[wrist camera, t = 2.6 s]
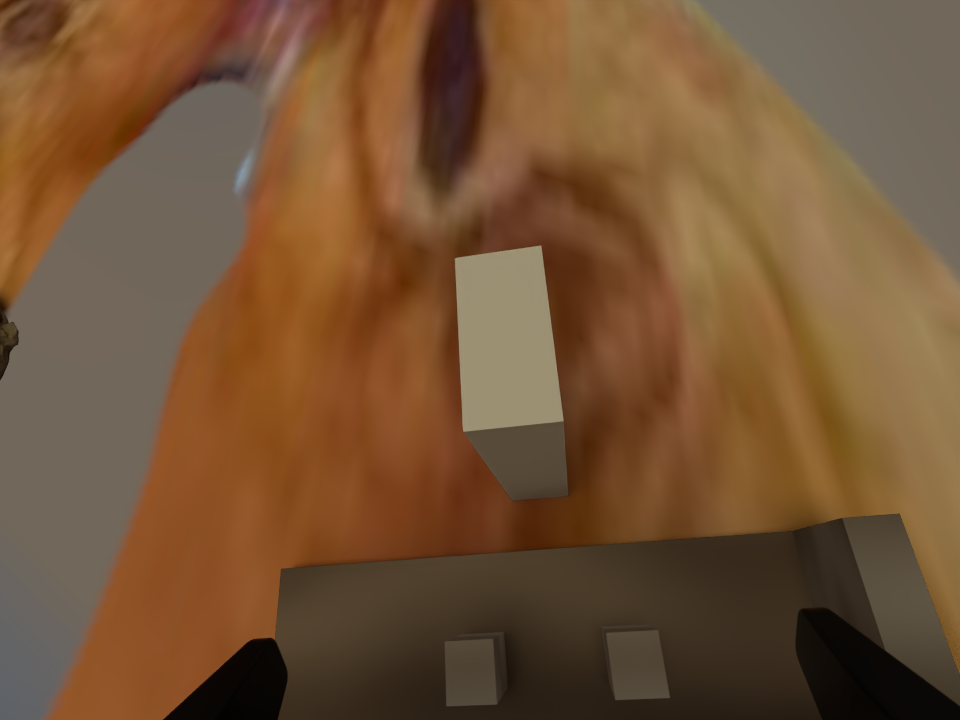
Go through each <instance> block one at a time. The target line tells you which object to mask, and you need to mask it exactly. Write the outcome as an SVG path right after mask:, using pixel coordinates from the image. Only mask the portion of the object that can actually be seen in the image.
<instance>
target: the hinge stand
mask: <svg viewBox="0 0 960 720" xmlns="http://www.w3.org/2000/svg"><path fill="white" fill-rule="evenodd" d="M814 607H825V608H828V609H830V610H832V611H833V612H835V613H836V614H837V615H839V616H840V617H841V618H843V619H844V620H845V621H847V622H848V623H849V624H851V625H852V626H853V627H855V628H856V629H858V630H859V631H860V632H862V633H863V634H864V635H866V636H867V637H868V638H870V639H871V640H872V641H874V642H875V643H876V644H878V645H879V646H880V647H882V648H883V649H884V650H886V651H887V652H888V653H890V654H891V655H892V656H894V657H895V658H896V659H898V660H899V661H901V662H902V663H903V664H905V665H906V666H907V667H909V668H910V669H911V670H913V671H914V672H915V673H917V674H918V675H919V676H921V677H922V678H923V679H925V680H926V681H927V682H929V683H930V684H931V685H933V686H934V687H935V688H937V689H938V690H939V691H941V692H942V693H944V694H945V695H946V696H948V697H949V698H950V699H952V700H953V701H954V702H956V703H957V704H958V705H960V675H959V672H958V670H957V667H956V664H955V662H954V659H953V656H952V653H951V651H950V648H949V645H948V643H947V640H946V637H945V635H944V632H943V629H942V627H941V624H940V621H939V618H938V616H937V613H936V610H935V608H934V605H933V602H932V600H931V597H930V594H929V592H928V589H927V586H926V583H925V581H924V578H923V575H922V573H921V570H920V567H919V565H918V562H917V559H916V557H915V554H914V551H913V548H912V546H911V543H910V540H909V538H908V535H907V532H906V530H905V527H904V524H903V522H902V519H901V516H900V514H889V515H875V516H862V517H849V518H840V519H837V520H833V521H829V522H825V523H821V524H817V525H814V526H810V527H806V528H802V529H798V530H795V531H787V532H774V533H760V534H746V535H733V536H719V537H706V538H692V539H679V540H665V541H652V542H638V543H624V544H611V545H597V546H584V547H570V548H557V549H543V550H530V551H516V552H503V553H489V554H475V555H462V556H448V557H435V558H421V559H408V560H394V561H381V562H367V563H353V564H340V565H326V566H313V567H299V568H286V569H281V576H280V588H279V599H278V610H277V622H276V633H275V641H276V642H277V645H278V647H279V650H280V652H281V654H282V657H283V659H284V662H285V664H286V667H287V671H288V681H287V686H286V690H285V694H284V698H283V702H282V706H281V709H280V713H279V717H278V720H822V718H821V716H820V713H819V711H818V708H817V706H816V703H815V701H814V698H813V696H812V693H811V691H810V688H809V686H808V683H807V681H806V678H805V676H804V674H803V671H802V669H801V666H800V664H799V661H798V658H797V654H796V649H795V639H796V626H797V615H798V612H799V610H800V609H802V608H814Z"/></svg>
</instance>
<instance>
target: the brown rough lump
mask: <svg viewBox="0 0 960 720" xmlns="http://www.w3.org/2000/svg"><path fill="white" fill-rule="evenodd" d="M18 341H19V340H18V330H17V328H16V326H15V324H14V322H11V323H8V320H7V318H6V316H5V315H4V313H3V311H2V310H1V308H0V380H1V378H2V377H3V375H4V372H5V370H6V368H7V365H8V363H9V356H10V352H11V350H12V349H13V347H14V346H16V345H18Z"/></svg>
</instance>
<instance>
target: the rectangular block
mask: <svg viewBox="0 0 960 720" xmlns="http://www.w3.org/2000/svg"><path fill="white" fill-rule="evenodd" d="M455 268H456V290H457V311H458V332H459V353H460V375H461V396H462V417H463V432H464V434H465V435H466V436H467V438H468V439H469V441H470V442H471V443H472V445H473V446H474V448H475V449H476V451H477V452H478V453H479V455H480V456H481V458H482V459H483V460H484V462H485V463H486V465H487V466H488V467H489V469H490V470H491V472H492V473H493V475H494V476H495V477H496V479H497V480H498V482H499V483H500V484H501V486H502V487H503V489H504V490H505V491H506V493H507V494H508V496H509V497H510V499H511V500H512V501H516V500H528V499H540V498H551V497H563V496H568V482H567V466H566V451H565V435H564V420H563V413H562V405H561V397H560V389H559V381H558V374H557V366H556V358H555V350H554V342H553V335H552V327H551V319H550V311H549V304H548V296H547V288H546V280H545V272H544V265H543V257H542V249H541V246H535V247H529V248H522V249H515V250H508V251H501V252H494V253H488V254H481V255H474V256H467V257H460V258H455Z"/></svg>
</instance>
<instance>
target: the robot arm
mask: <svg viewBox="0 0 960 720" xmlns="http://www.w3.org/2000/svg"><path fill="white" fill-rule="evenodd" d="M795 649H796V654H797V658H798V661H799V664H800V666H801V669H802V671H803V674H804V676H805V678H806V681H807V683H808V686H809V688H810V691H811V693H812V696H813V698H814V701H815V703H816V706H817V708H818V711H819V713H820V716H821V718H822V720H960V705H958V704H957V703H956V702H954V701H953V700H952V699H950V698H949V697H948V696H946V695H945V694H944V693H942V692H941V691H939V690H938V689H937V688H935V687H934V686H933V685H931V684H930V683H929V682H927V681H926V680H925V679H923V678H922V677H921V676H919V675H918V674H917V673H915V672H914V671H913V670H911V669H910V668H909V667H907V666H906V665H905V664H903V663H902V662H901V661H899V660H898V659H896V658H895V657H894V656H892V655H891V654H890V653H888V652H887V651H886V650H884V649H883V648H882V647H880V646H879V645H878V644H876V643H875V642H874V641H872V640H871V639H870V638H868V637H867V636H866V635H864V634H863V633H862V632H860V631H859V630H858V629H856V628H855V627H853V626H852V625H851V624H849V623H848V622H847V621H845V620H844V619H843V618H841V617H840V616H839V615H837V614H836V613H835V612H833V611H832V610H830V609H828V608H825V607H814V608H802V609H800V610H799V612H798V615H797V626H796V639H795ZM287 681H288V671H287V667H286V664H285V662H284V659H283V657H282V654H281V652H280V650H279V647H278V645H277V642H276V641H275V640H274V639H273V638H260V639H253V640H250V641H249V642H247V643H246V644H245V645H244V646H243V647H242V648H241V649H240V650H239V651H237V652H236V653H235V654H234V655H233V656H232V657H231V658H230V659H229V660H228V661H226V662H225V663H224V664H223V665H222V666H221V667H220V668H219V669H218V670H217V671H216V672H214V673H213V674H212V675H211V676H210V677H209V678H208V679H207V680H206V681H205V682H204V683H202V684H201V685H200V686H199V687H198V688H197V689H196V690H195V691H194V692H193V693H192V694H190V695H189V696H188V697H187V698H186V699H185V700H184V701H183V702H182V703H181V704H180V705H178V706H177V707H176V708H175V709H174V710H173V711H172V712H171V713H170V714H169V715H168V716H166V717H165V718H164V719H163V720H278V717H279V713H280V709H281V706H282V702H283V698H284V694H285V690H286V686H287Z"/></svg>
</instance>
